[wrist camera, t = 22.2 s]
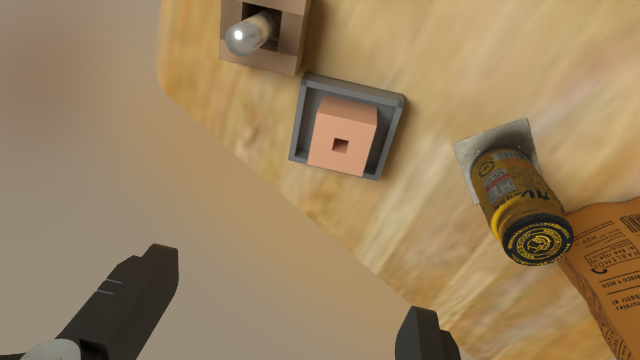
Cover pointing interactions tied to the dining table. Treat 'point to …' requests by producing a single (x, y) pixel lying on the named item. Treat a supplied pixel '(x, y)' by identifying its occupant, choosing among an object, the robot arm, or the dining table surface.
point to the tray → (384, 100)
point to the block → (342, 135)
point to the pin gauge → (253, 32)
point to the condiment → (515, 194)
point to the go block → (272, 53)
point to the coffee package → (609, 270)
